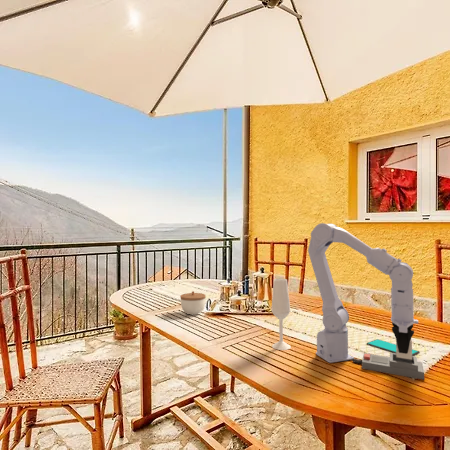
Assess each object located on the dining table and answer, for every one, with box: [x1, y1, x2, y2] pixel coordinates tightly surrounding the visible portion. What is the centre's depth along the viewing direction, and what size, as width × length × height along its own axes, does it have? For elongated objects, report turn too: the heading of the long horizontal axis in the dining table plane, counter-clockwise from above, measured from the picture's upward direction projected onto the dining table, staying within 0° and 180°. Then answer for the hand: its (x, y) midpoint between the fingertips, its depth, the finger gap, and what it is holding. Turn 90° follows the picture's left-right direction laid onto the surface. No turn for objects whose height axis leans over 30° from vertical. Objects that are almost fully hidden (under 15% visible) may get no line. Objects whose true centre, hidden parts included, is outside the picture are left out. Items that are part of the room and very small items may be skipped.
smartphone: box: [366, 338, 420, 356], centre depth 113 cm, size 7×1×15 cm
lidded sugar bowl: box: [180, 290, 207, 315], centre depth 162 cm, size 13×13×11 cm
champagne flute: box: [270, 278, 291, 351], centre depth 116 cm, size 7×7×24 cm
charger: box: [395, 339, 413, 360], centre depth 95 cm, size 4×4×5 cm
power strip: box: [352, 352, 425, 381], centre depth 97 cm, size 19×8×4 cm, turn 62°
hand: (403, 350), depth 95 cm, fingers closed on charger, 4 cm apart
